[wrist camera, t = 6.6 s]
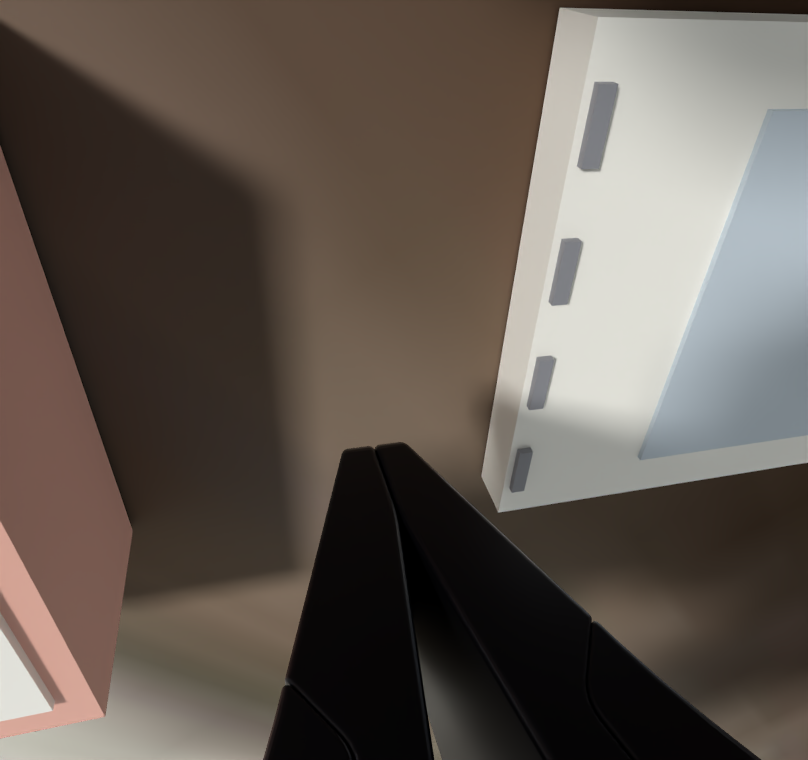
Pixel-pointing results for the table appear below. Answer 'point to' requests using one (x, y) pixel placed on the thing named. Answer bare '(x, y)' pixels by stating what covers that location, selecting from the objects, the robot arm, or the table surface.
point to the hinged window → (659, 260)
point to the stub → (51, 508)
